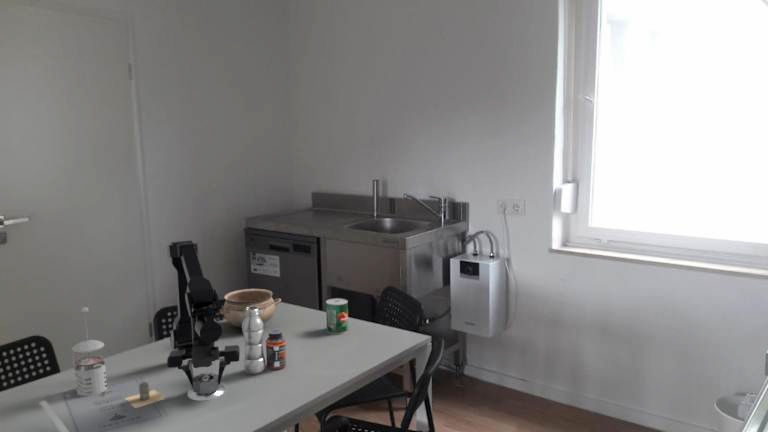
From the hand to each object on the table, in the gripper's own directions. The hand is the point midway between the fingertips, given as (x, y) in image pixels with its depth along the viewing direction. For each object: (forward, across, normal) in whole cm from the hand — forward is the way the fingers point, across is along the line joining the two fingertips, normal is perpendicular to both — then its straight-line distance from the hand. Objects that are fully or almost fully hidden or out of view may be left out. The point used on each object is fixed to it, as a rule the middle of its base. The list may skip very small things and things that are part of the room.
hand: (206, 385), depth 164 cm
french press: (+3, -32, +10) cm, 34 cm away
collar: (+1, 0, 0) cm, 1 cm away
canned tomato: (+3, +43, +44) cm, 61 cm away
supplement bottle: (+3, +20, +16) cm, 26 cm away
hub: (+3, 0, 0) cm, 3 cm away
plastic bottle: (+3, +13, +13) cm, 19 cm away
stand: (+3, -16, 0) cm, 16 cm away
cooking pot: (+3, +12, +56) cm, 57 cm away
